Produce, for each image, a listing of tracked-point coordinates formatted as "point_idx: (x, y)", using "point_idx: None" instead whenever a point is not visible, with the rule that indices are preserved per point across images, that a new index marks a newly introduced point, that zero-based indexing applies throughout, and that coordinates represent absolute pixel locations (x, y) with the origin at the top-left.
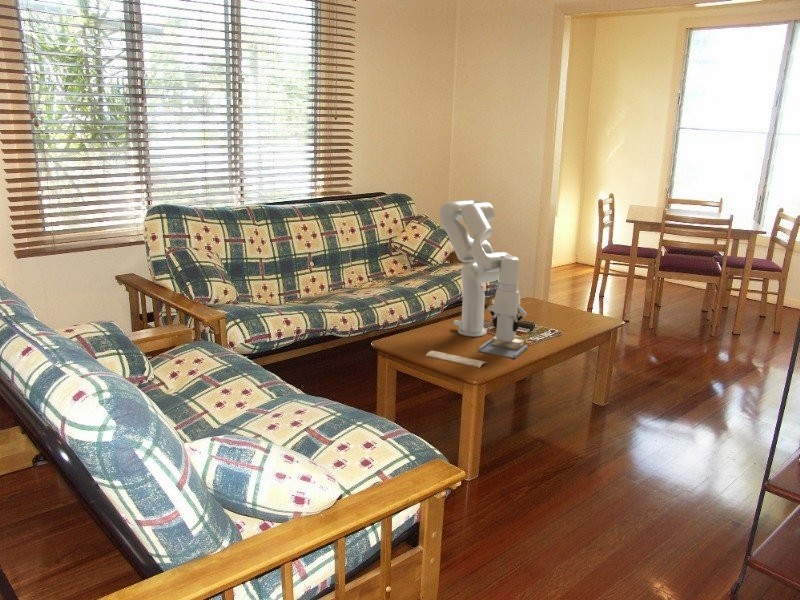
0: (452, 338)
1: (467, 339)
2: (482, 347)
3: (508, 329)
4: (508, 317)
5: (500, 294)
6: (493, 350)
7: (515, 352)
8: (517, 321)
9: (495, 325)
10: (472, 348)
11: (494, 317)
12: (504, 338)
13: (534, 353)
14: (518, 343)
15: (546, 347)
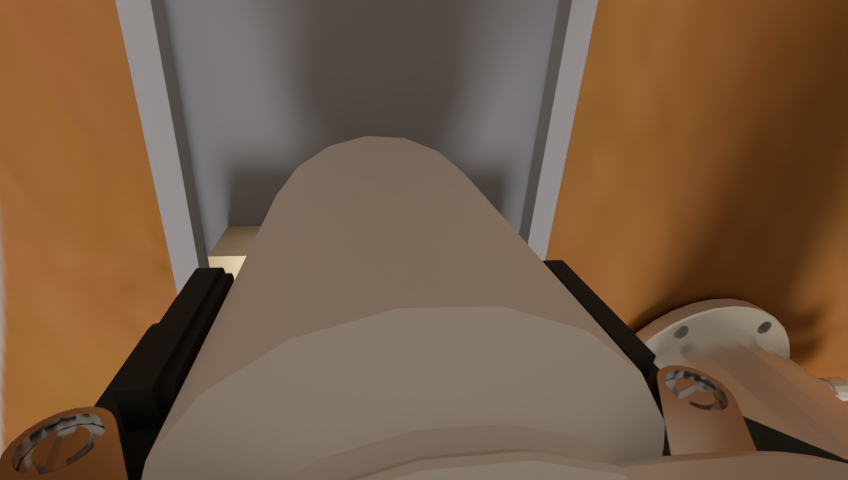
0: (813, 206)
1: (703, 244)
2: (563, 34)
3: (286, 216)
4: (263, 419)
5: None
6: (444, 69)
7: (219, 124)
8: (31, 431)
9: (563, 277)
10: (645, 50)
11: (683, 383)
12: (349, 147)
13: (62, 222)
14: (228, 252)
15: (76, 402)
